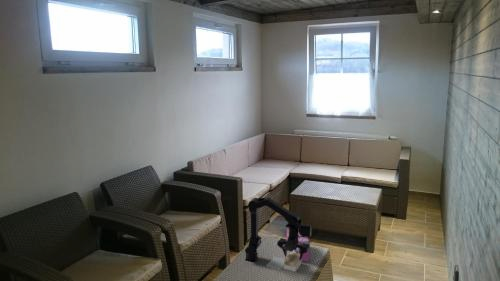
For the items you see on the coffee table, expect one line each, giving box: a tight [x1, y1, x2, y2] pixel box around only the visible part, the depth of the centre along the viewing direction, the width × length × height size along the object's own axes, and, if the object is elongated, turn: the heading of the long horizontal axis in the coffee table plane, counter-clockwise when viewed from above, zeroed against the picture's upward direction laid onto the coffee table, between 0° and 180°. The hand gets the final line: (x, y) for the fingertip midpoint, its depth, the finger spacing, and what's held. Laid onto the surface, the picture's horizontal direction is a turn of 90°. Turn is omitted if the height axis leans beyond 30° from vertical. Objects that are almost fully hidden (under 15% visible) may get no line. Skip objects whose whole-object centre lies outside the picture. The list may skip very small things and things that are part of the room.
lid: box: [284, 251, 300, 267], centre depth 224 cm, size 6×11×3 cm, turn 152°
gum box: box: [286, 227, 311, 262], centre depth 241 cm, size 24×8×14 cm, turn 14°
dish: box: [283, 260, 302, 272], centre depth 224 cm, size 7×10×4 cm
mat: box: [265, 256, 285, 271], centre depth 228 cm, size 9×13×1 cm
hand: (292, 258), depth 224 cm, fingers open, 9 cm apart
